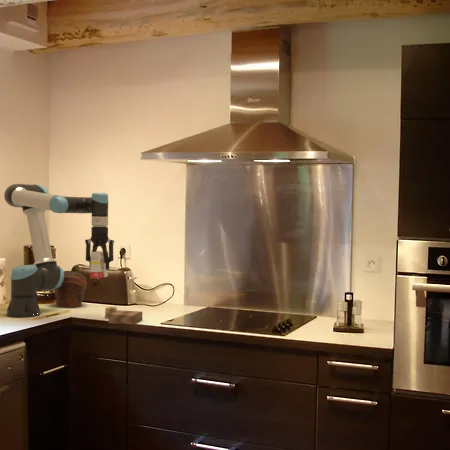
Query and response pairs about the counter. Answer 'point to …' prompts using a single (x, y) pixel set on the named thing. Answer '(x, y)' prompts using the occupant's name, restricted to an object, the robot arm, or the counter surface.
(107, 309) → the oak cube
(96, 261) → the ink box
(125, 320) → the pedestal
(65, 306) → the brown plant pot
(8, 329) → the counter surface
